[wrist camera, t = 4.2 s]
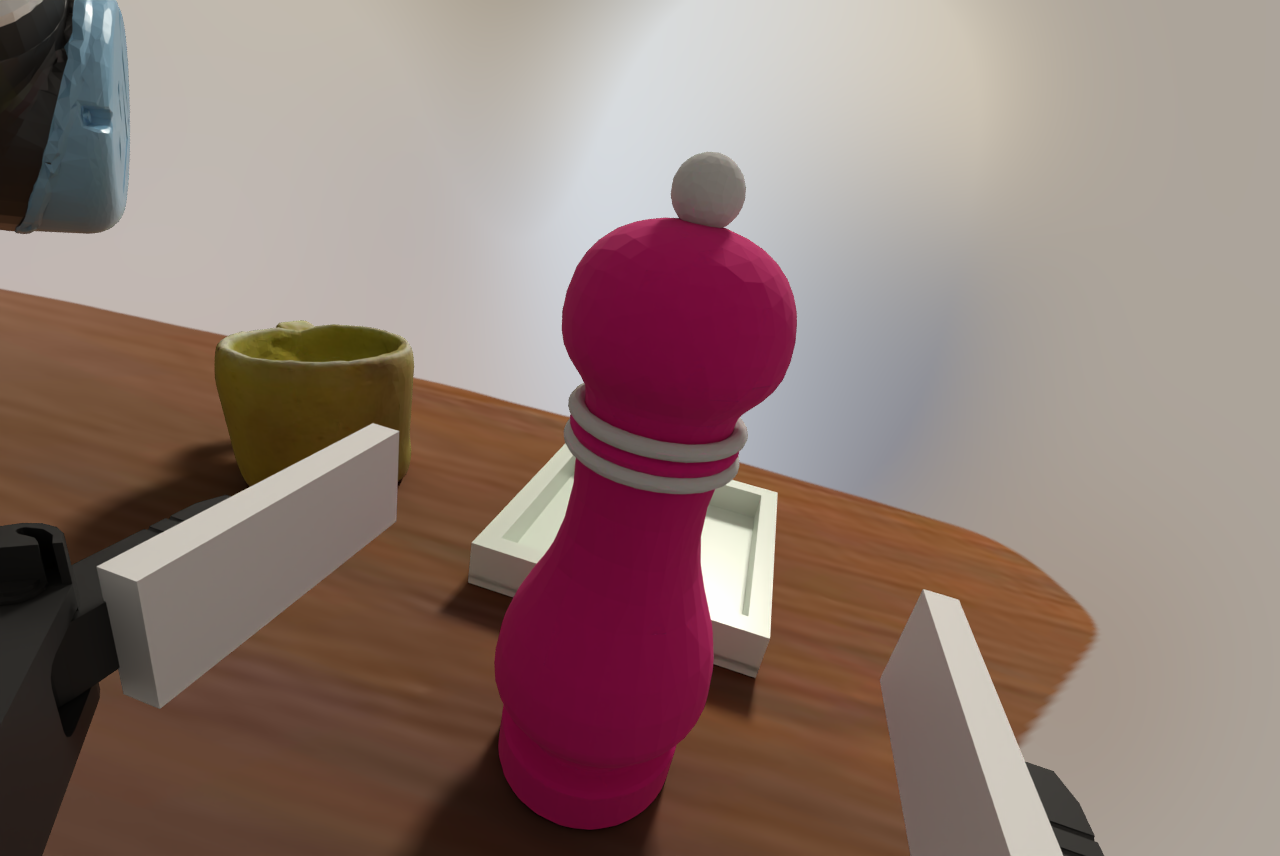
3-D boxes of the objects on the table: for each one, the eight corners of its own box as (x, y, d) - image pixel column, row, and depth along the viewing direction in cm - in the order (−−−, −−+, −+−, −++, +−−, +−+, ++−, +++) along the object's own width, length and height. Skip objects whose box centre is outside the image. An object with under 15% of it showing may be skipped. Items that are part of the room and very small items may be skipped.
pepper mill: (628, 899, 17) (856, 166, 9) (437, 770, 20) (493, 99, 12) (708, 722, 24) (885, 192, 16) (556, 641, 26) (644, 145, 18)
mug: (463, 484, 32) (403, 305, 29) (255, 559, 29) (156, 364, 25) (429, 428, 43) (383, 291, 39) (274, 477, 39) (207, 331, 35)
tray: (468, 582, 28) (471, 542, 27) (568, 464, 41) (573, 434, 40) (755, 678, 26) (769, 638, 25) (767, 522, 39) (777, 492, 38)
